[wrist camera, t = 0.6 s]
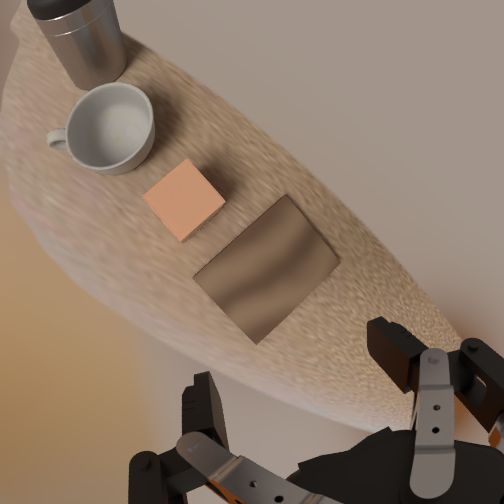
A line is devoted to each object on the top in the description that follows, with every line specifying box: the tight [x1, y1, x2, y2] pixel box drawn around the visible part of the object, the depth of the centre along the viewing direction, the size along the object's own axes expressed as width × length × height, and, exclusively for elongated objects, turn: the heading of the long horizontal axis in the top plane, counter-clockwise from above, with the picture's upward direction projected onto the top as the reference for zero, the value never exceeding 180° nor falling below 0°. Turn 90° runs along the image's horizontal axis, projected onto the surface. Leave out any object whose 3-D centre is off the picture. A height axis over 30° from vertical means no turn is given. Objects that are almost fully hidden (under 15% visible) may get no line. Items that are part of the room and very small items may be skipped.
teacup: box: [47, 82, 155, 176], centre depth 31 cm, size 14×11×8 cm
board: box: [193, 195, 341, 345], centre depth 39 cm, size 12×16×1 cm
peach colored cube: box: [142, 158, 226, 243], centre depth 33 cm, size 6×6×8 cm
